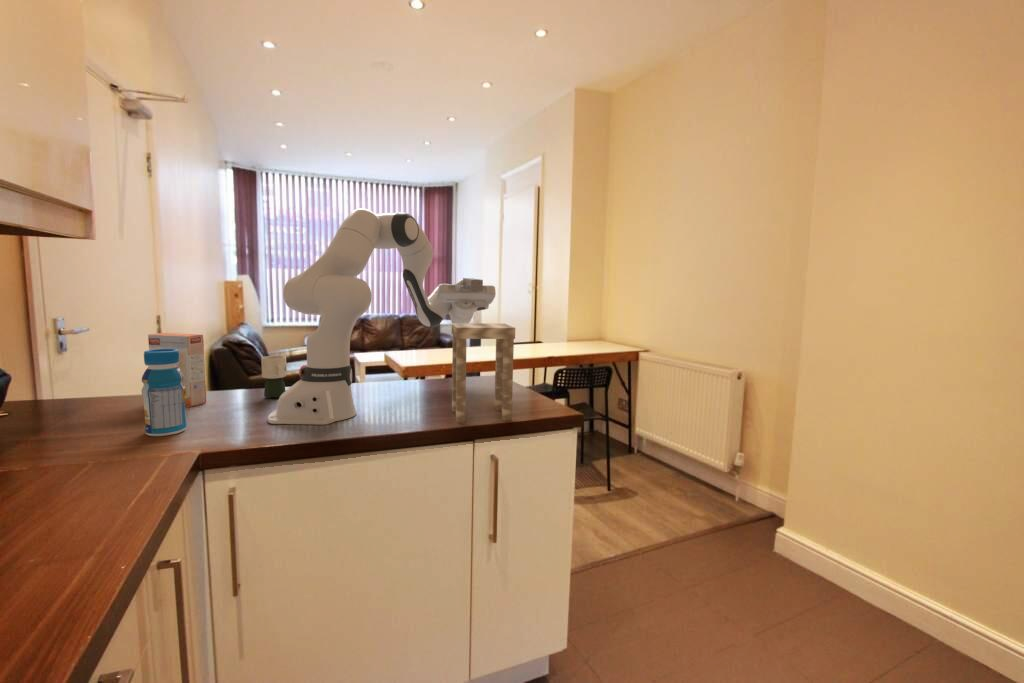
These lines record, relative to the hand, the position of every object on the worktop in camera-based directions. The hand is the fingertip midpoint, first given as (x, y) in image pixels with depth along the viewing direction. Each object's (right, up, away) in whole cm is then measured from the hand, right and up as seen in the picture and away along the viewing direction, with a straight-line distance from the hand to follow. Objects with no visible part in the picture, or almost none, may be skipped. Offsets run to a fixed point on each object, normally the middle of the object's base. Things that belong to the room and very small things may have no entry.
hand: (469, 282), depth 162 cm
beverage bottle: (-69, -42, -47) cm, 94 cm away
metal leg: (+2, -3, -7) cm, 8 cm away
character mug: (-61, -38, -10) cm, 73 cm away
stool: (+6, -42, -25) cm, 49 cm away
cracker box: (-85, -39, -21) cm, 95 cm away
